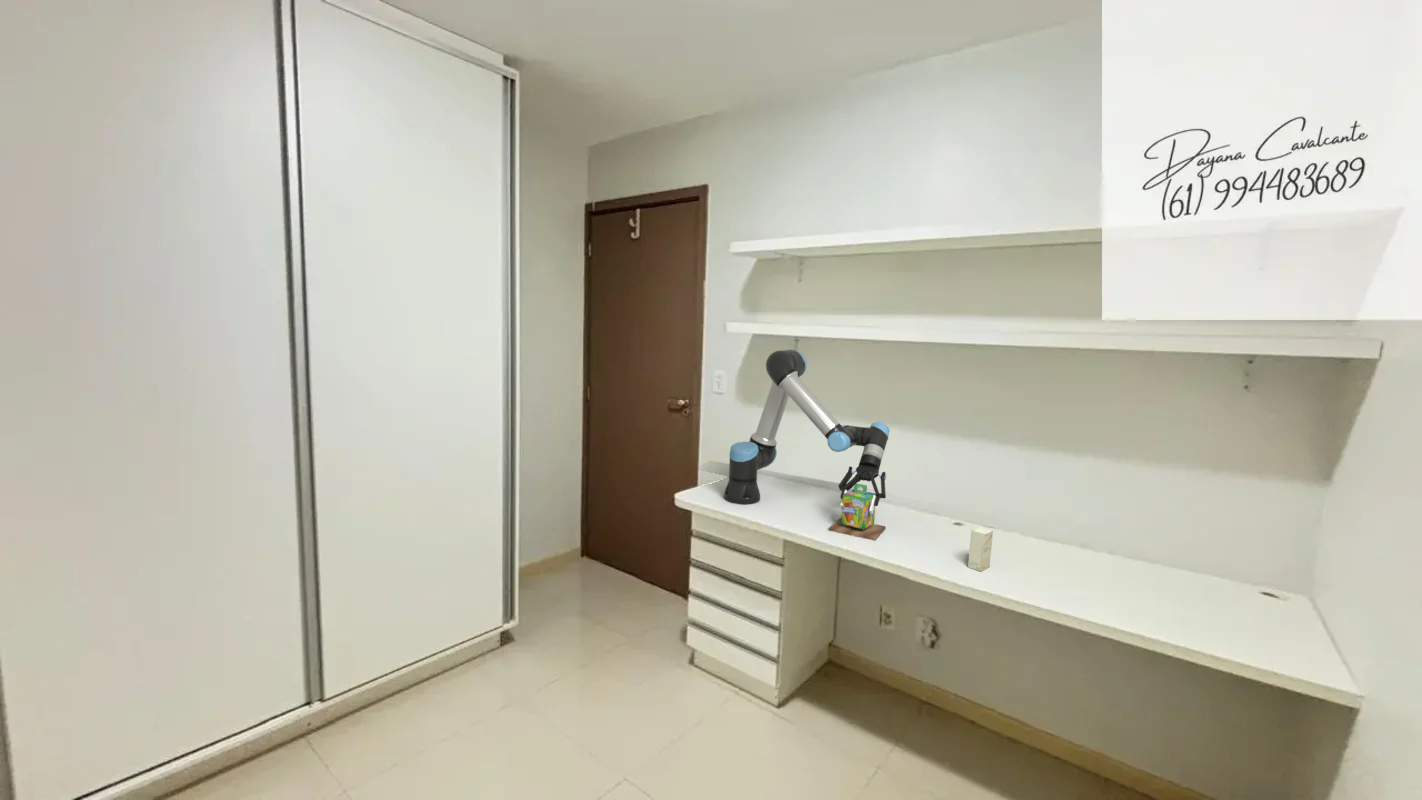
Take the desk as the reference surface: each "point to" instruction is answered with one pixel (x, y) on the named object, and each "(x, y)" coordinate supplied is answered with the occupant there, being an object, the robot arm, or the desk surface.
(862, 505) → the chalk box
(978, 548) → the skincare box
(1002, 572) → the desk surface
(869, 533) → the walnut board
